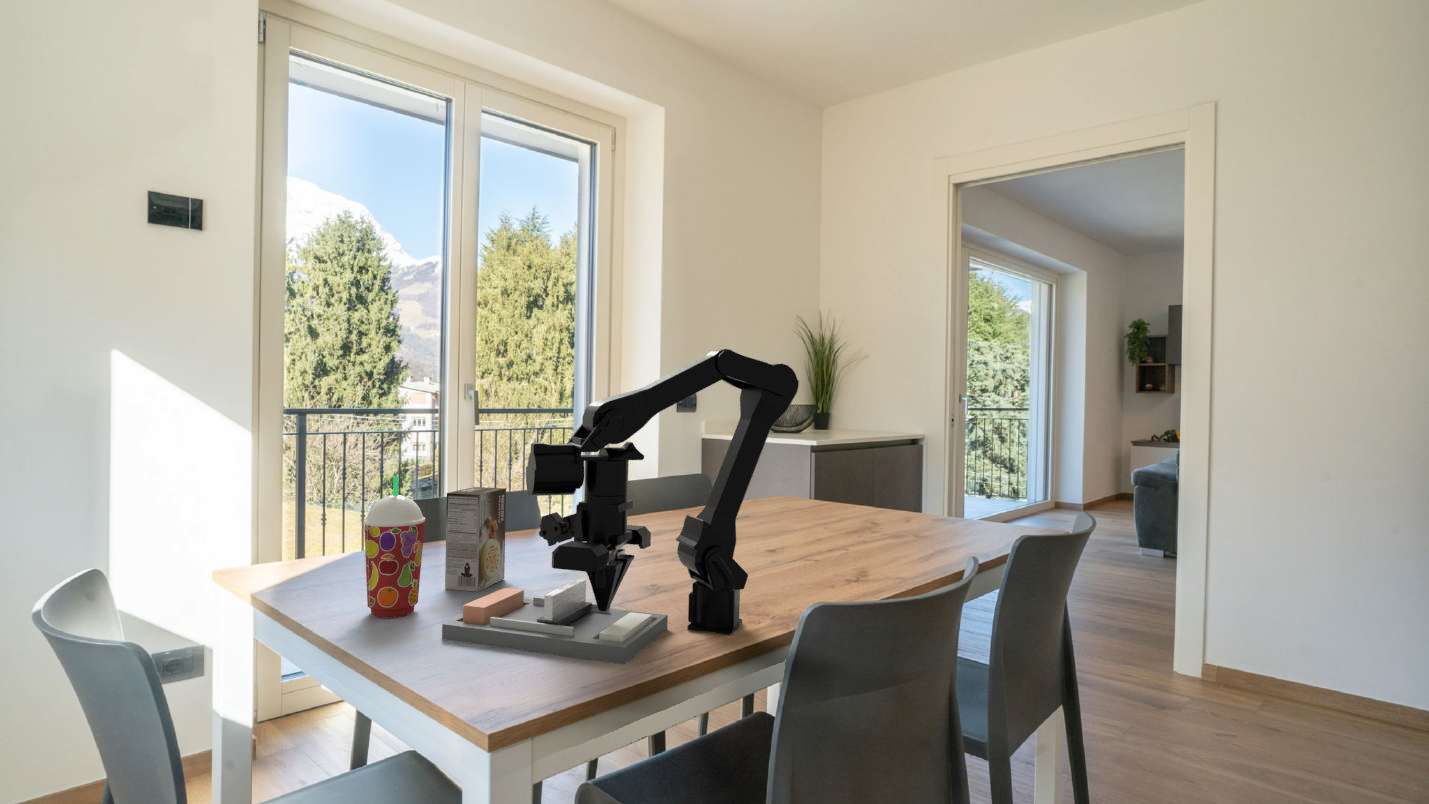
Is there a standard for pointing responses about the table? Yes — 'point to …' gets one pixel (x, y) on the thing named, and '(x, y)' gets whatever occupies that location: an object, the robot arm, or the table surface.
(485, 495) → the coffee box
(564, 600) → the slider paddle
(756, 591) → the table surface
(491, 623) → the panel
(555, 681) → the table surface
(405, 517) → the smoothie
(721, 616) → the robot arm
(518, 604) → the button terracotta
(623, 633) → the button white
